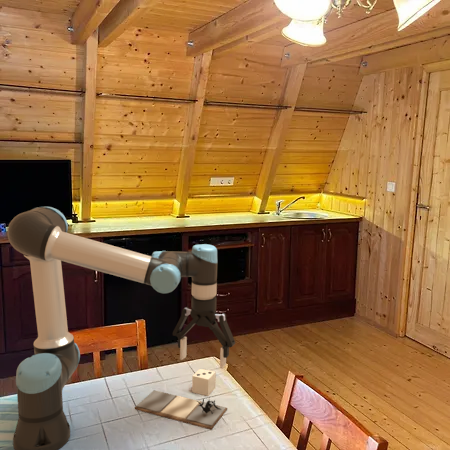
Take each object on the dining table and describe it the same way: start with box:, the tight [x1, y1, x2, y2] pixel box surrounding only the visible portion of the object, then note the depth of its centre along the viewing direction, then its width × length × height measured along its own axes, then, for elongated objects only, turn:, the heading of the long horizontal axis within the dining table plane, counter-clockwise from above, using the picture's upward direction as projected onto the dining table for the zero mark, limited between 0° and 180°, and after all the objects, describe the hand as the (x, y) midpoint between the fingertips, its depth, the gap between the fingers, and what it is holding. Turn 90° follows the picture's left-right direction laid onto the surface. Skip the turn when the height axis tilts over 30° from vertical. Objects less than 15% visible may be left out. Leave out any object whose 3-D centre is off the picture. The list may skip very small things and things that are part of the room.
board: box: [134, 389, 228, 430], centre depth 150 cm, size 27×12×1 cm, turn 67°
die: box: [191, 368, 217, 397], centre depth 162 cm, size 6×6×6 cm
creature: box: [196, 396, 220, 414], centre depth 148 cm, size 8×5×8 cm
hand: (202, 362), depth 145 cm, fingers open, 13 cm apart
